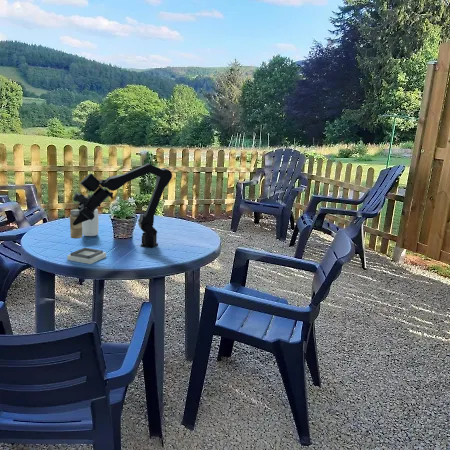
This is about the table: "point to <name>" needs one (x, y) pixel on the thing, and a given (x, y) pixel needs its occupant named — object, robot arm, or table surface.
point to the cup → (91, 225)
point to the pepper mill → (75, 229)
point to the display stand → (86, 255)
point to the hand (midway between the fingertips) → (72, 223)
